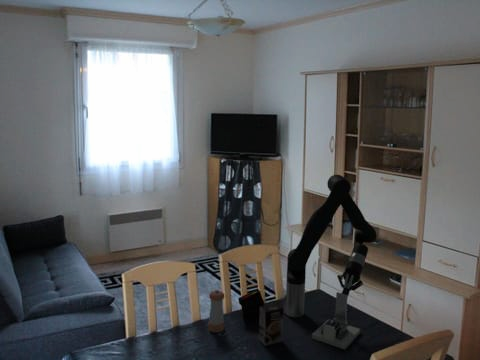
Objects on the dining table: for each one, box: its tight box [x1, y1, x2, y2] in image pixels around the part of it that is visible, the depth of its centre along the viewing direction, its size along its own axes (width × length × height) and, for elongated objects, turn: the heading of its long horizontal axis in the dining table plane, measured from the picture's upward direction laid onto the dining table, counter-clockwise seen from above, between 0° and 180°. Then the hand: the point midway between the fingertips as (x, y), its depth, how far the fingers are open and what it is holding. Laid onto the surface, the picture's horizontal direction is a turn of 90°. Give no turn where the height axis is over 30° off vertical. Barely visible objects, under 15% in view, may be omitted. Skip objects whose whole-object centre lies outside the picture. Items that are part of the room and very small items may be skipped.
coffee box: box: [258, 302, 285, 347], centre depth 212 cm, size 9×6×16 cm
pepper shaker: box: [208, 289, 225, 333], centre depth 221 cm, size 7×7×19 cm
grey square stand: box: [311, 318, 361, 350], centre depth 218 cm, size 16×18×8 cm
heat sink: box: [321, 318, 349, 340], centre depth 217 cm, size 10×8×4 cm
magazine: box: [237, 288, 265, 322], centre depth 232 cm, size 4×13×15 cm, turn 96°
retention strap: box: [333, 291, 349, 322], centre depth 220 cm, size 6×1×13 cm, turn 55°
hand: (344, 296), depth 222 cm, fingers closed
